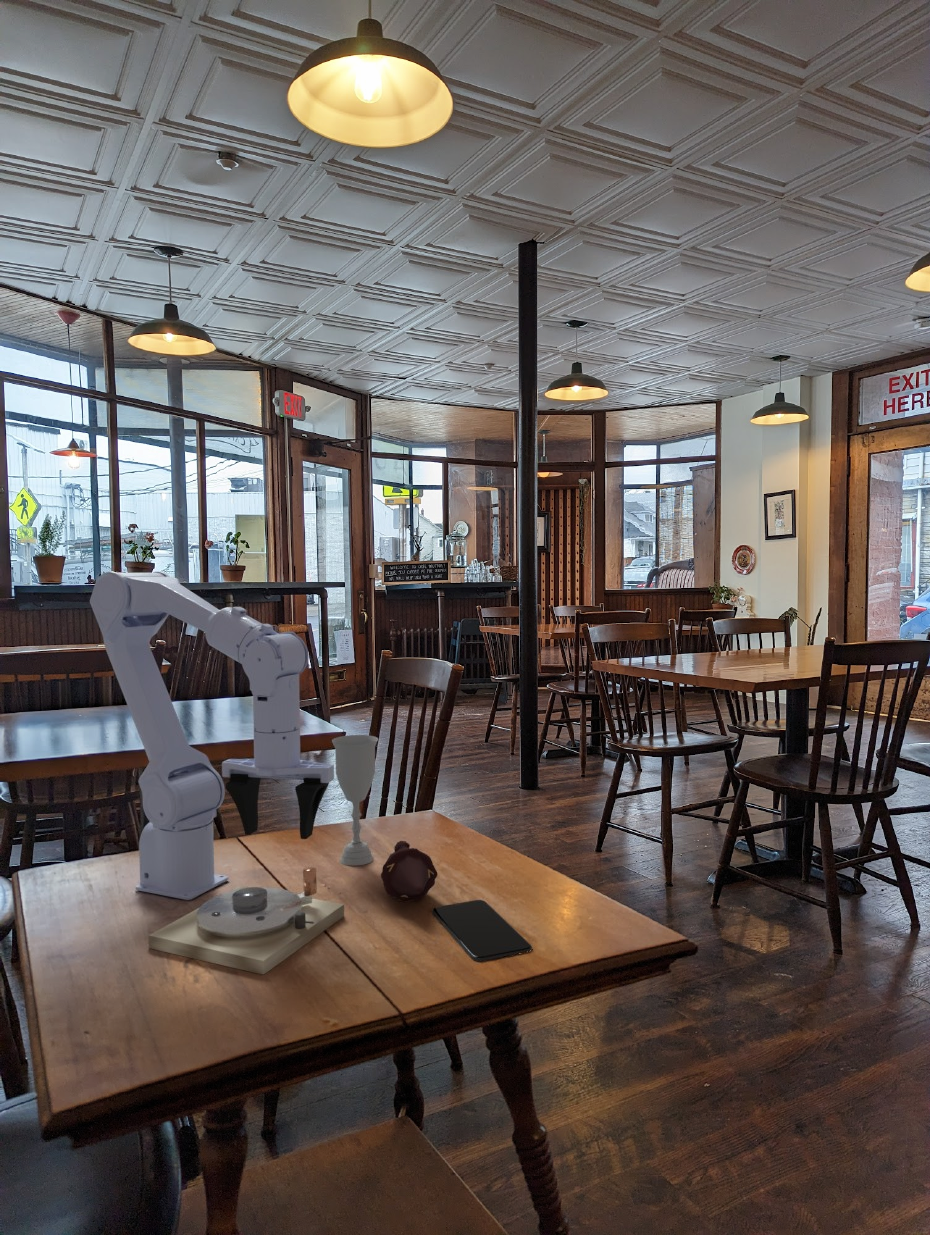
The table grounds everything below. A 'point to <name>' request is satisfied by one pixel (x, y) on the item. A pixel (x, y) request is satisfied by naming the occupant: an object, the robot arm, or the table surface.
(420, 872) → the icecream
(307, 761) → the robot arm
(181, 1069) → the table surface
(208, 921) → the grey turntable
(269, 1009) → the table surface
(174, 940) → the post base
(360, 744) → the chalice
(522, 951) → the smartphone
